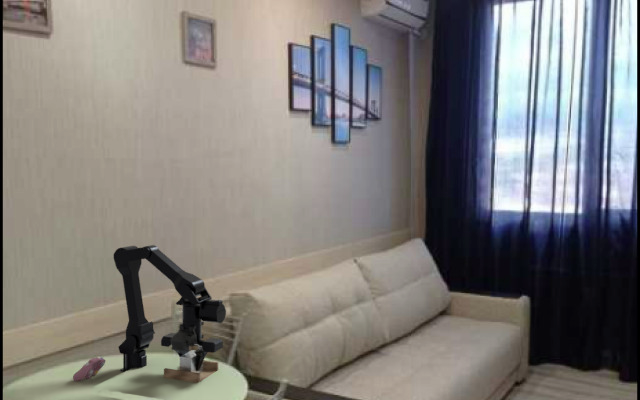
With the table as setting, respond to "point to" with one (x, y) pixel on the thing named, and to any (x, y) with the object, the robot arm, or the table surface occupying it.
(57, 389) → the table surface
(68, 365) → the table surface
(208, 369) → the brown wooden tray
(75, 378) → the pink elongated piece
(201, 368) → the metal block
